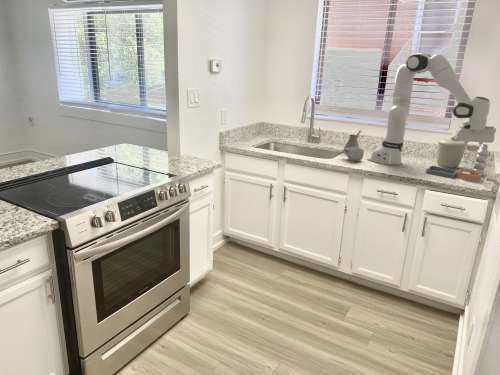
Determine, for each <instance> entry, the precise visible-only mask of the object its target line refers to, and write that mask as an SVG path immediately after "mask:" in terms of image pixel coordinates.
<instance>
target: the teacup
mask: <svg viewBox="0 0 500 375" xmlns="http://www.w3.org/2000/svg"><path fill="white" fill-rule="evenodd" d="M345 149H347V151H348V153H346V151H345ZM342 151H343V153H344V155H345V156H346V157H347V159H348V160H349V161H352V162H360V161H361V160H363V158H364V154H365V149H364V148H360V147H359V148H356V147H351V148H343V150H342Z"/></svg>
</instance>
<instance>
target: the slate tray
mask: <svg viewBox="0 0 500 375" xmlns="http://www.w3.org/2000/svg"><path fill="white" fill-rule="evenodd" d="M458 171H459V169H455V168H447V167H442V166H438V165H437V166H436V165H430V166H429V167H427V169H426V171H425V173H426V174H430V175H435V176H439V177H444V178H449V179H454V178H455V177H457V174H458Z"/></svg>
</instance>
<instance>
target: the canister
mask: <svg viewBox="0 0 500 375" xmlns="http://www.w3.org/2000/svg"><path fill="white" fill-rule="evenodd" d="M468 144H469V143H467V145H468ZM465 147H466V146H465V143H464V141H456V140H455V135H452V136H450V138H441V139H440V140H437V151H436V152H437V154H436V165H437V166H438V167H443V168H448V169H457V168H459V166H460V165H461V162H462V159H463V157H464V153H465V151H466V149H465Z"/></svg>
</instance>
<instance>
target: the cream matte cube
mask: <svg viewBox="0 0 500 375" xmlns="http://www.w3.org/2000/svg"><path fill="white" fill-rule="evenodd" d="M467 144H468V146H469V149H466V150H467V151H468V152H476V153H477V152H478V150H477V147H478V144H472V143H471V144H470V143H467Z"/></svg>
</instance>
